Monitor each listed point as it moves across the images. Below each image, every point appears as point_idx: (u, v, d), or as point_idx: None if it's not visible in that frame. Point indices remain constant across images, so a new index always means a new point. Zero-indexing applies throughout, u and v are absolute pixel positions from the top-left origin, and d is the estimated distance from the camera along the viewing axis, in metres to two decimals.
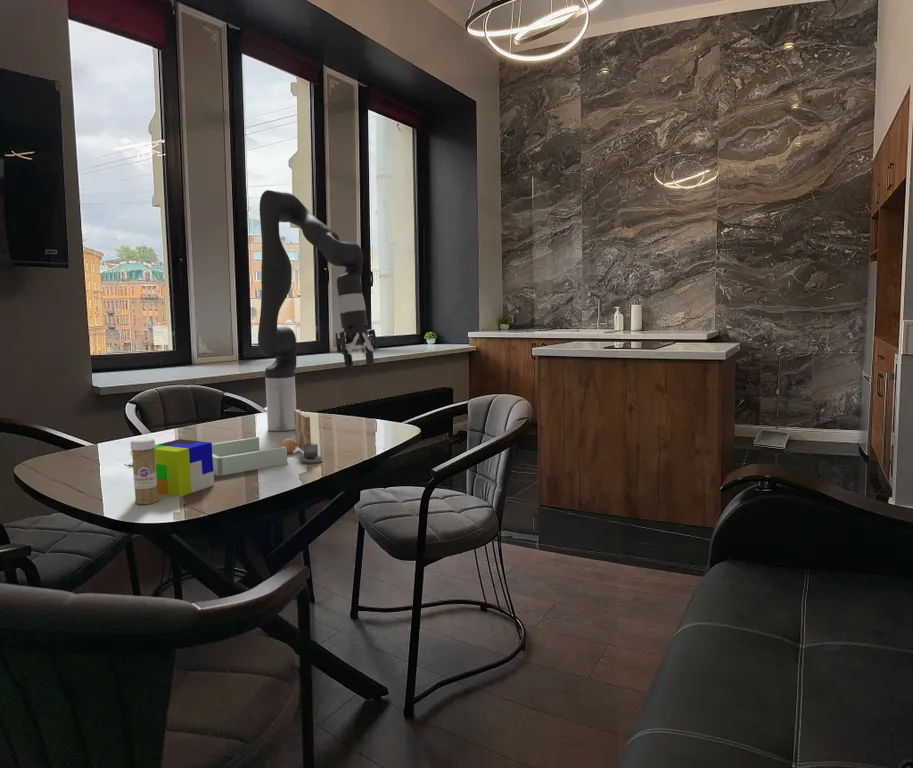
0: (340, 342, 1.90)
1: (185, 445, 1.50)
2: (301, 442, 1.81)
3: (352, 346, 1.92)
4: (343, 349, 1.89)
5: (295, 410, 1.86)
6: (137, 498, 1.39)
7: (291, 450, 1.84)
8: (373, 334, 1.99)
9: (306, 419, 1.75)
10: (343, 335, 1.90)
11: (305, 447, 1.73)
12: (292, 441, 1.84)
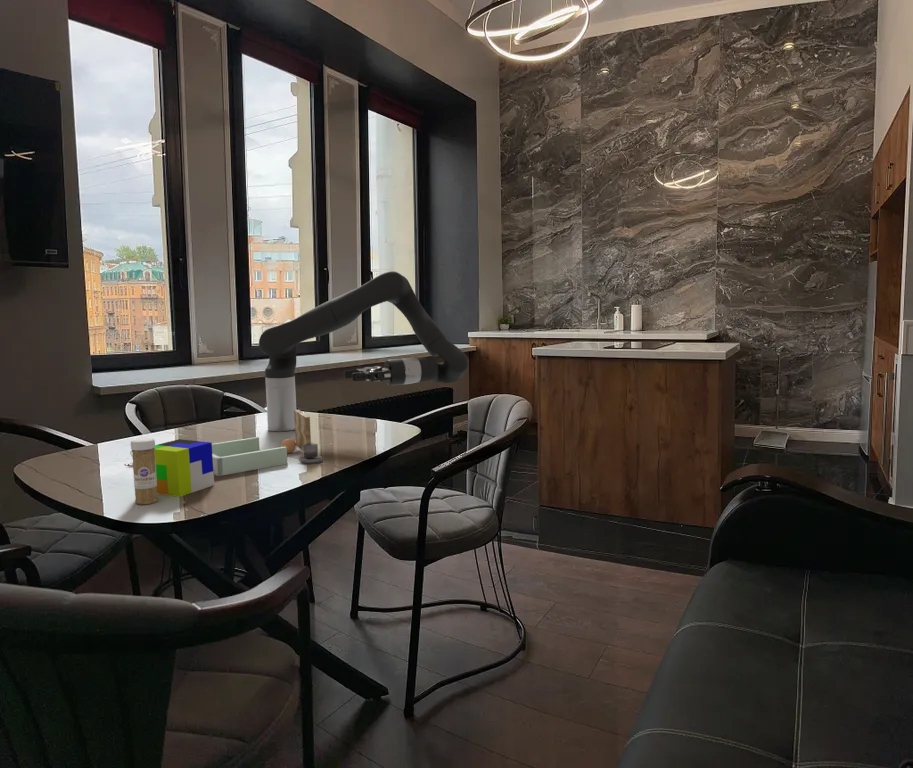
0: (381, 377, 1.85)
1: (185, 445, 1.50)
2: (301, 442, 1.81)
3: None
4: (373, 380, 1.84)
5: (295, 410, 1.86)
6: (137, 498, 1.39)
7: (291, 450, 1.84)
8: None
9: (306, 419, 1.75)
10: (386, 379, 1.86)
11: (305, 447, 1.73)
12: (292, 441, 1.84)
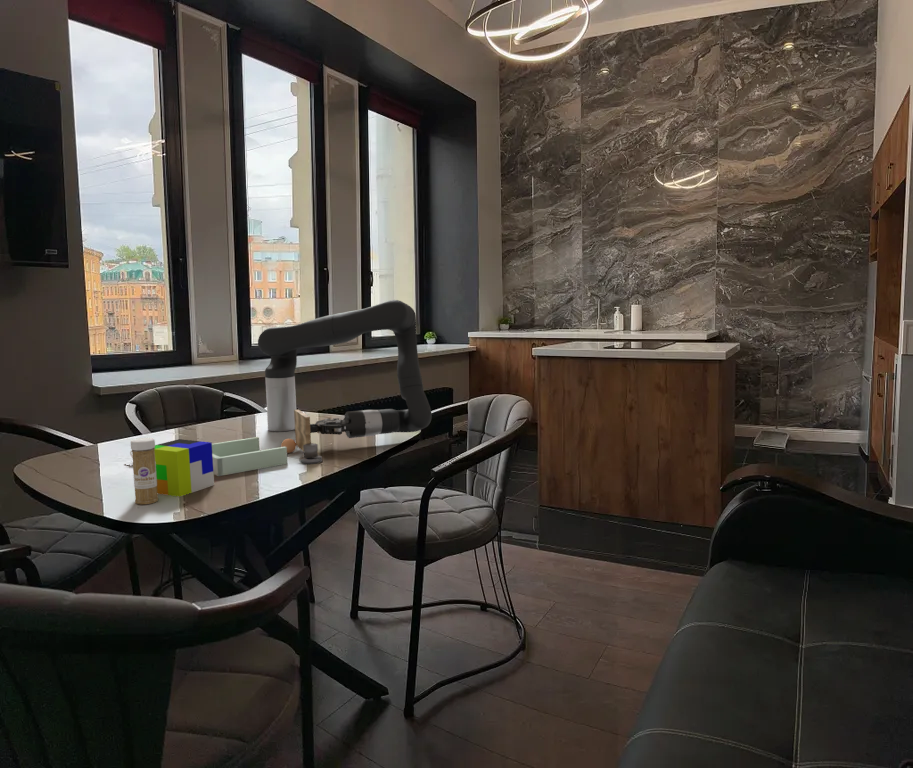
0: (330, 431, 1.83)
1: (185, 445, 1.49)
2: (301, 442, 1.81)
3: None
4: (323, 433, 1.84)
5: (295, 410, 1.86)
6: (137, 498, 1.39)
7: (291, 450, 1.84)
8: None
9: (306, 419, 1.75)
10: None
11: (305, 447, 1.73)
12: (292, 441, 1.84)
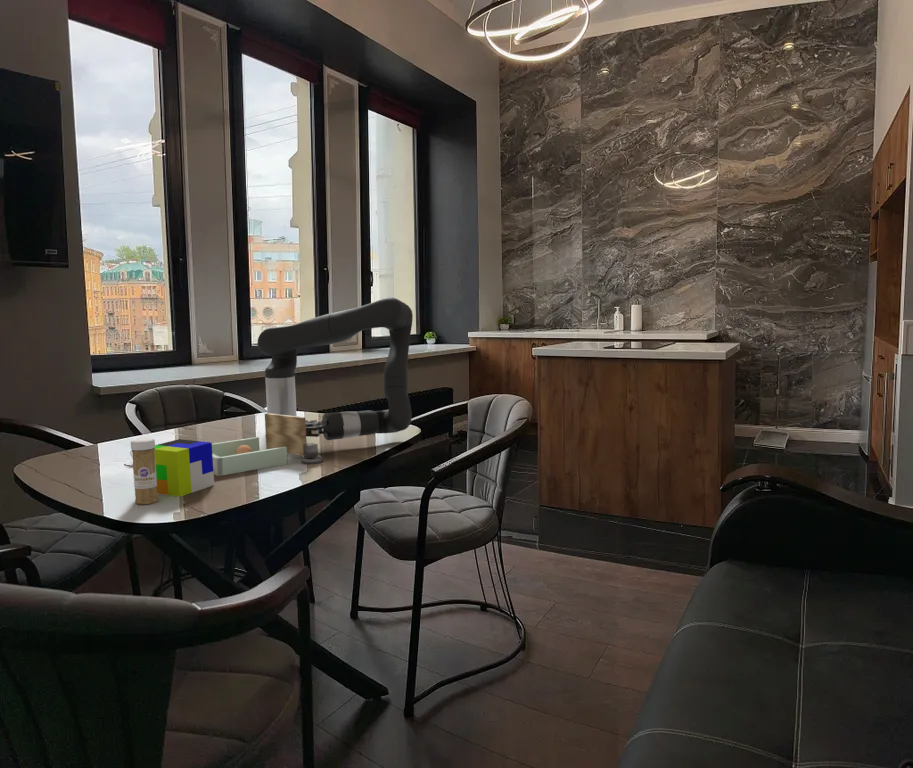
0: (307, 433, 1.80)
1: (185, 445, 1.49)
2: (287, 445, 1.78)
3: None
4: None
5: (269, 414, 1.80)
6: (137, 498, 1.39)
7: None
8: None
9: (302, 420, 1.74)
10: None
11: (308, 447, 1.72)
12: (248, 447, 1.77)
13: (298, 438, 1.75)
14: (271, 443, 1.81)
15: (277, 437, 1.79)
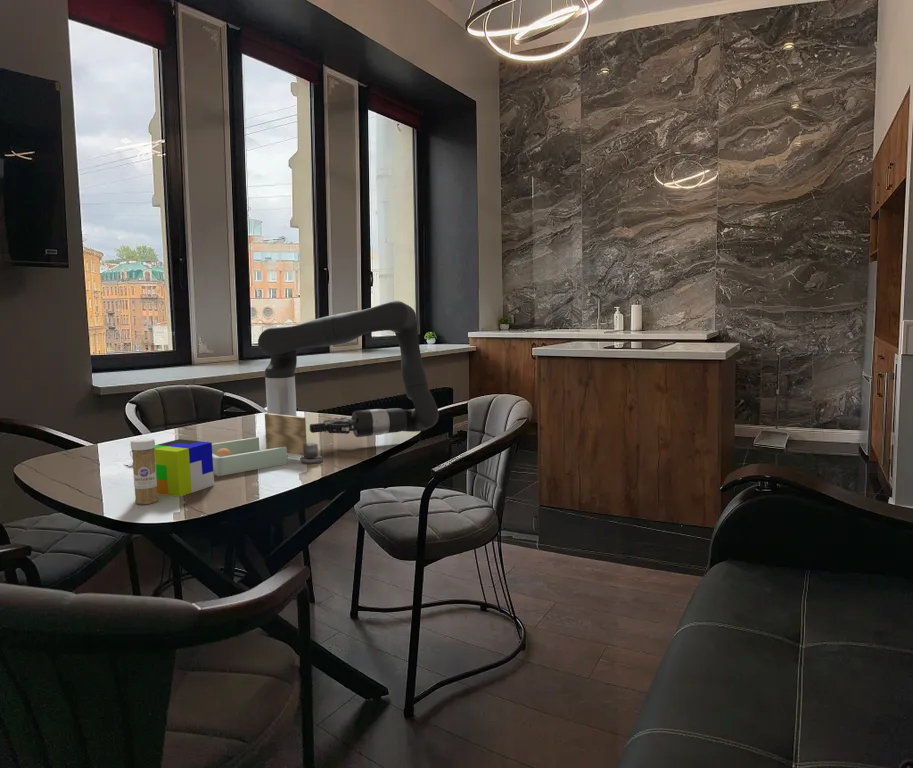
0: (337, 430, 1.84)
1: (185, 445, 1.49)
2: (287, 445, 1.78)
3: None
4: (330, 432, 1.85)
5: (269, 414, 1.80)
6: (137, 498, 1.39)
7: (226, 454, 1.72)
8: None
9: (302, 420, 1.74)
10: None
11: (308, 447, 1.72)
12: None
13: (298, 438, 1.75)
14: (271, 443, 1.81)
15: (277, 437, 1.79)
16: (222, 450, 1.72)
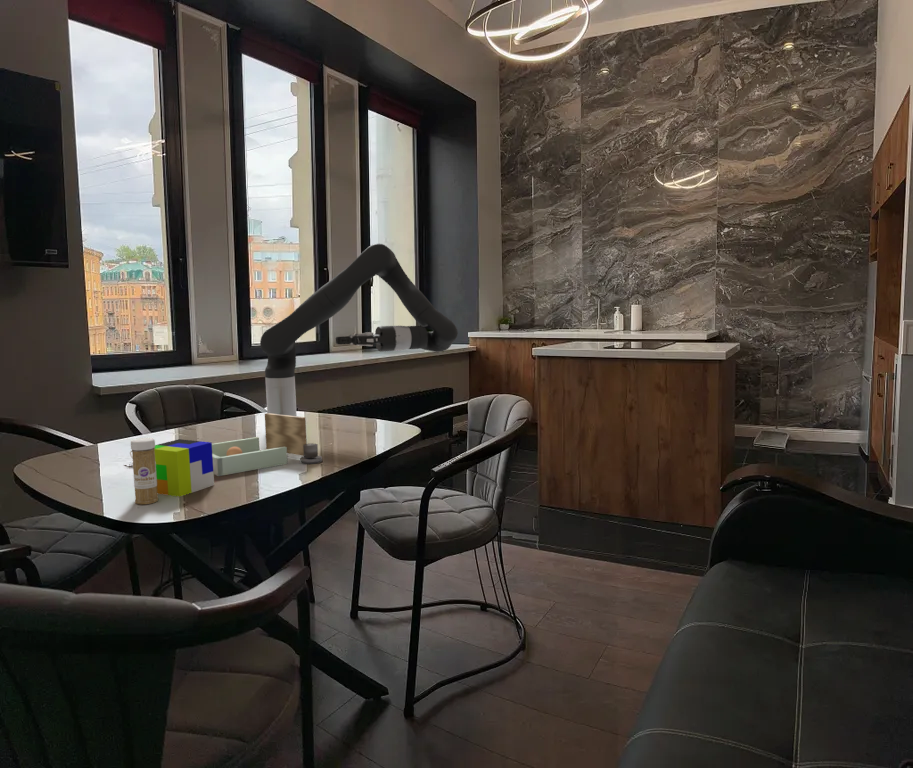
0: (363, 341, 1.92)
1: (185, 445, 1.50)
2: (287, 445, 1.78)
3: None
4: (356, 344, 1.93)
5: (269, 414, 1.80)
6: (137, 498, 1.39)
7: None
8: None
9: (302, 420, 1.74)
10: None
11: (308, 447, 1.72)
12: (230, 451, 1.74)
13: (298, 438, 1.75)
14: (271, 443, 1.81)
15: (277, 437, 1.79)
16: (241, 451, 1.76)
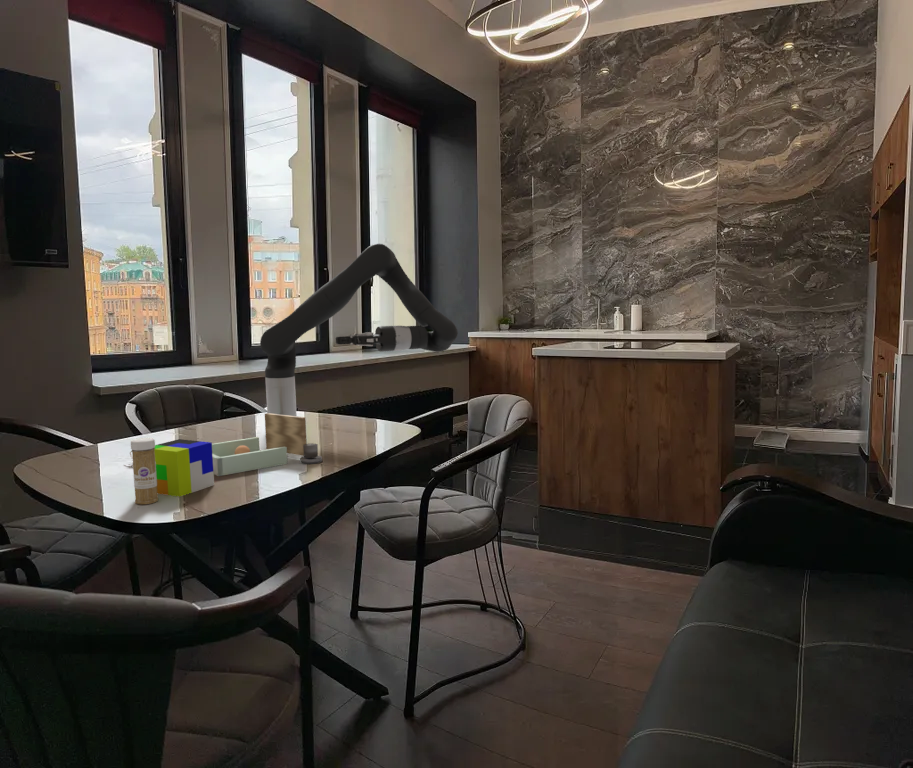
0: (363, 341, 1.92)
1: (185, 445, 1.49)
2: (287, 445, 1.78)
3: None
4: (356, 344, 1.93)
5: (269, 414, 1.80)
6: (137, 498, 1.39)
7: None
8: None
9: (302, 420, 1.74)
10: None
11: (308, 447, 1.72)
12: (245, 447, 1.76)
13: (298, 438, 1.75)
14: (271, 443, 1.81)
15: (277, 437, 1.79)
16: None
